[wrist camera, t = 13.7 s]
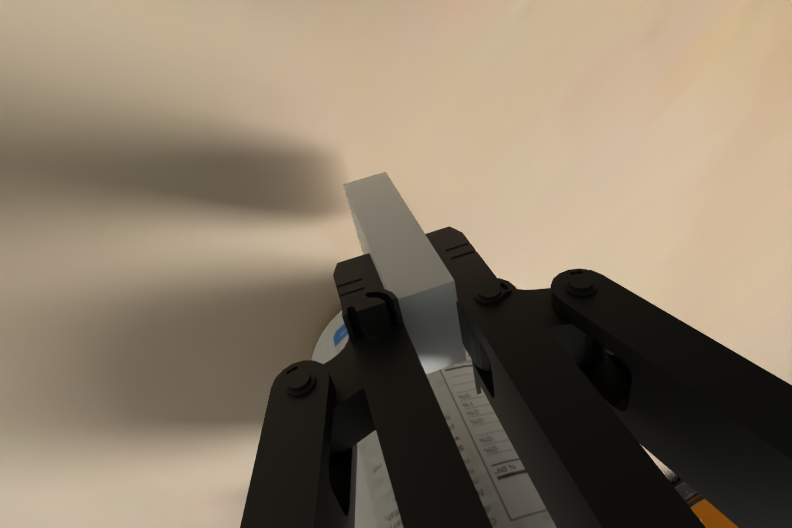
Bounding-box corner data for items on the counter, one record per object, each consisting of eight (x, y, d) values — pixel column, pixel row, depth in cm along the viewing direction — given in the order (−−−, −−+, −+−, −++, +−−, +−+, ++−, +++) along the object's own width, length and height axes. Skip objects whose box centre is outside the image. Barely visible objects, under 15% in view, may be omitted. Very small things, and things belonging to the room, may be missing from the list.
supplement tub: (443, 421, 28) (592, 775, 16) (280, 409, 24) (320, 865, 12) (528, 287, 24) (810, 627, 12) (348, 244, 20) (508, 691, 8)
